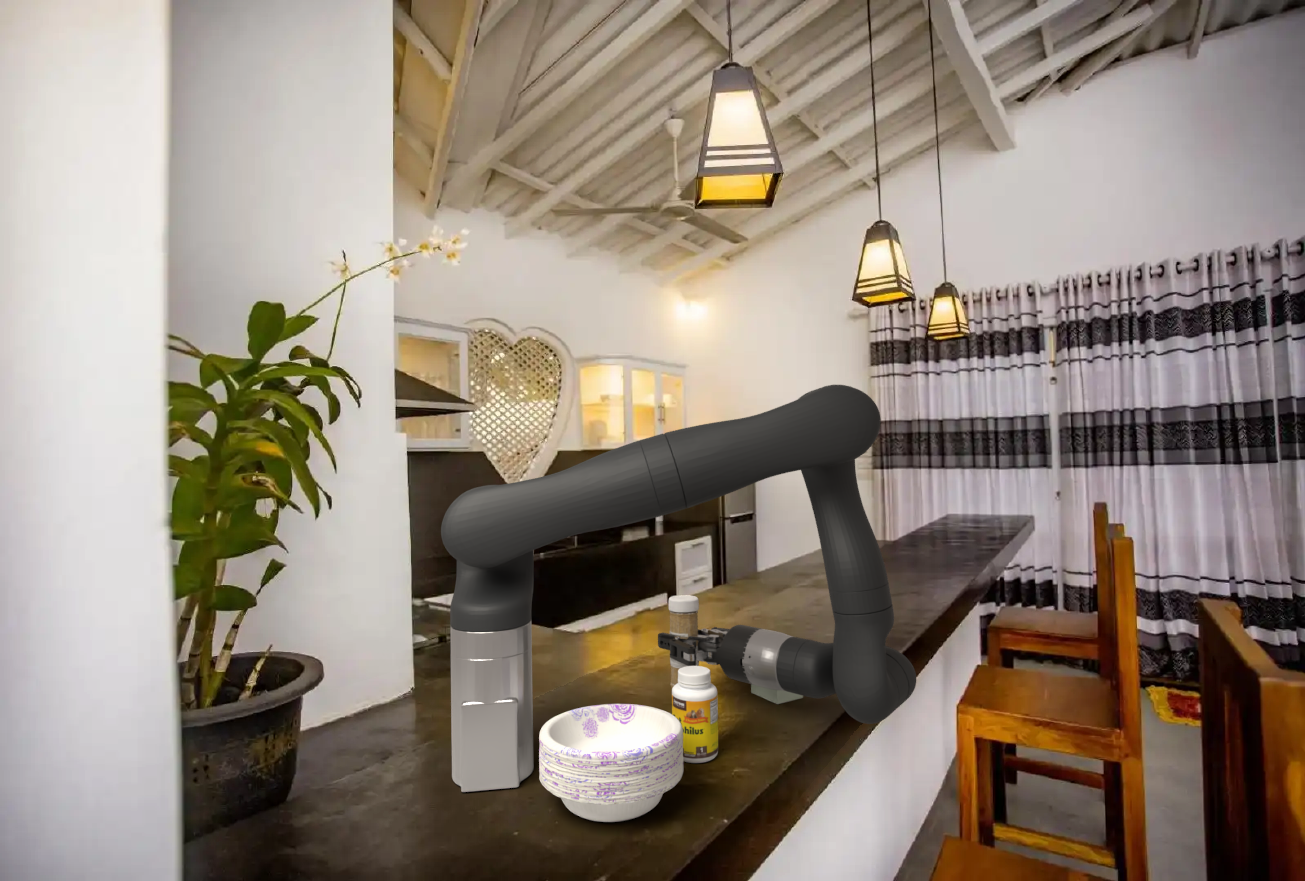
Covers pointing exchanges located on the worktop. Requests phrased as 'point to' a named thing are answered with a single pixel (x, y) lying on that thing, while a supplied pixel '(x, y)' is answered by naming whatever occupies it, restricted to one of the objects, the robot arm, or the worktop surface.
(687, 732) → the supplement bottle
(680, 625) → the brown spice jar
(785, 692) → the sage block
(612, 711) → the paper bowls
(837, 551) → the robot arm
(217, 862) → the worktop surface
